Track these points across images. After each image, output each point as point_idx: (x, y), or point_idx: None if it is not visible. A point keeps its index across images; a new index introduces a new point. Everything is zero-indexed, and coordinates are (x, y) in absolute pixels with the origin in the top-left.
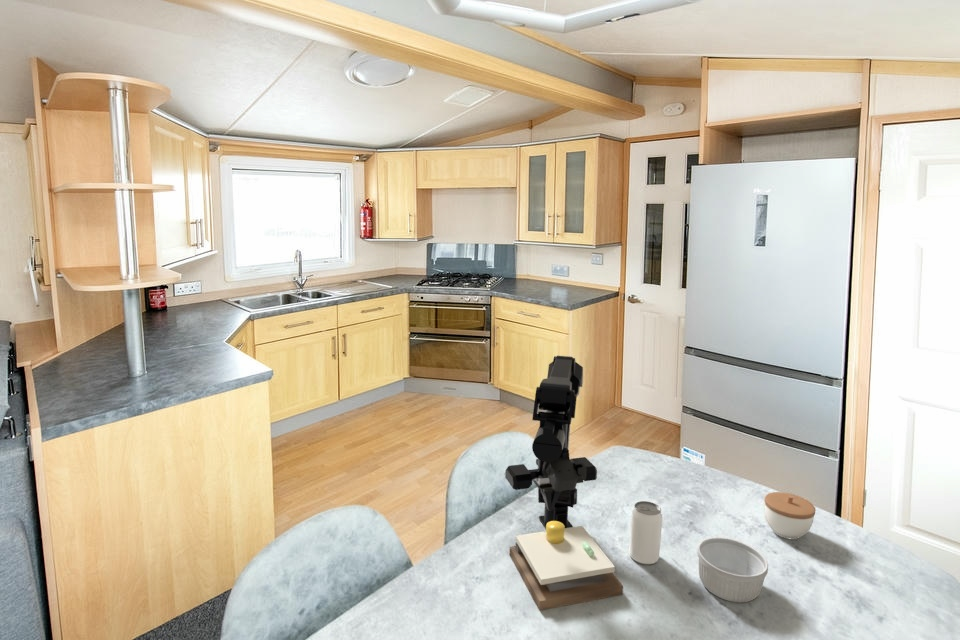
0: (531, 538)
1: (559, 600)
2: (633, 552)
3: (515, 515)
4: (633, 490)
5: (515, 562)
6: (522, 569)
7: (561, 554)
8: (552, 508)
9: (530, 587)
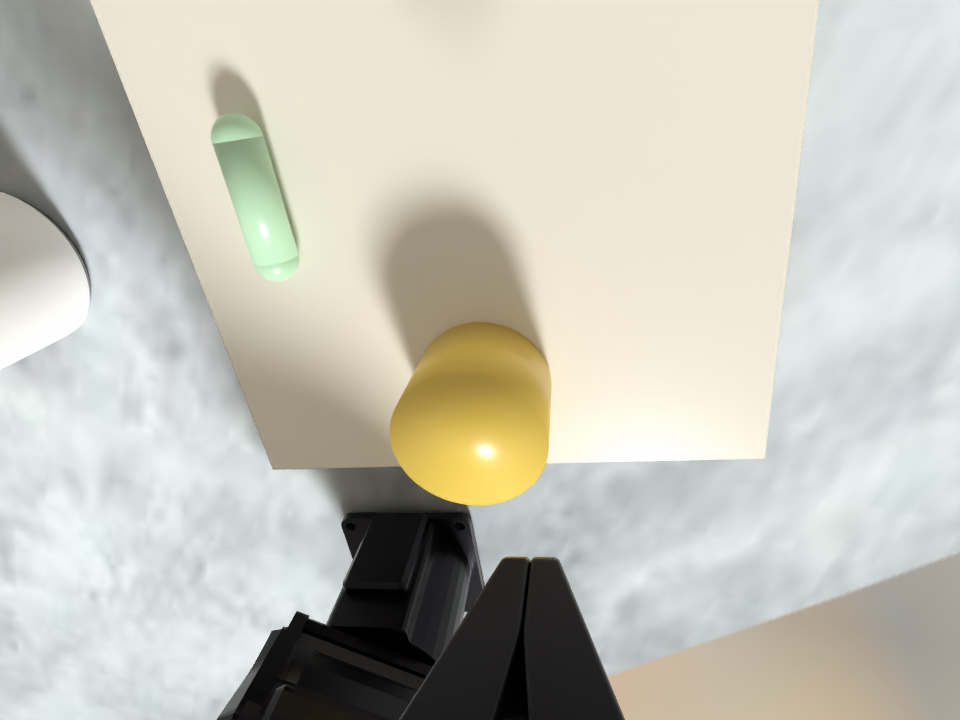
0: (658, 410)
1: None
2: (34, 254)
3: None
4: (70, 655)
5: None
6: None
7: (488, 185)
8: (502, 575)
9: None
